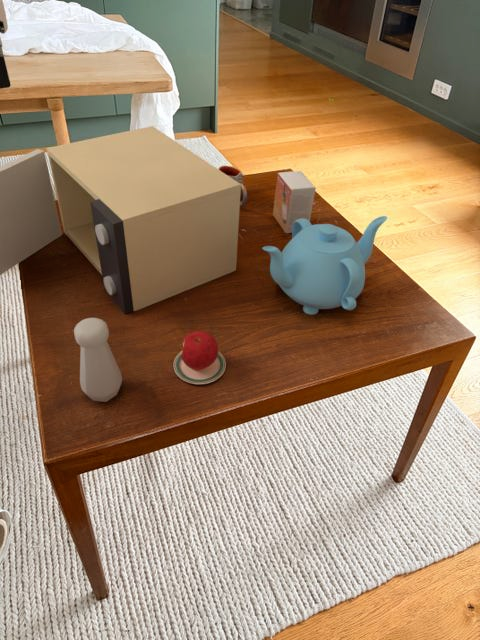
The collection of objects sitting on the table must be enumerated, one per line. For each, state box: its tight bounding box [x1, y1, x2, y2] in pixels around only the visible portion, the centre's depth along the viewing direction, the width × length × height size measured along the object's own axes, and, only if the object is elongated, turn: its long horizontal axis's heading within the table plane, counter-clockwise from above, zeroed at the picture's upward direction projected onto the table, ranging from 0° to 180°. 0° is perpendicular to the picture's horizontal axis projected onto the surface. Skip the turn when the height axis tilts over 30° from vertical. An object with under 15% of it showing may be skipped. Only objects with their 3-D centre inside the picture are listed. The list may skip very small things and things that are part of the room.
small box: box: [272, 170, 317, 234], centre depth 107 cm, size 8×6×10 cm
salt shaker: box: [73, 317, 123, 403], centre depth 68 cm, size 6×6×13 cm
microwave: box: [46, 125, 241, 315], centre depth 93 cm, size 24×30×18 cm
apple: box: [173, 330, 227, 385], centre depth 74 cm, size 8×8×6 cm
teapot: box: [261, 215, 388, 316], centre depth 87 cm, size 16×20×14 cm
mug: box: [217, 165, 248, 208], centre depth 114 cm, size 12×7×7 cm, turn 25°
